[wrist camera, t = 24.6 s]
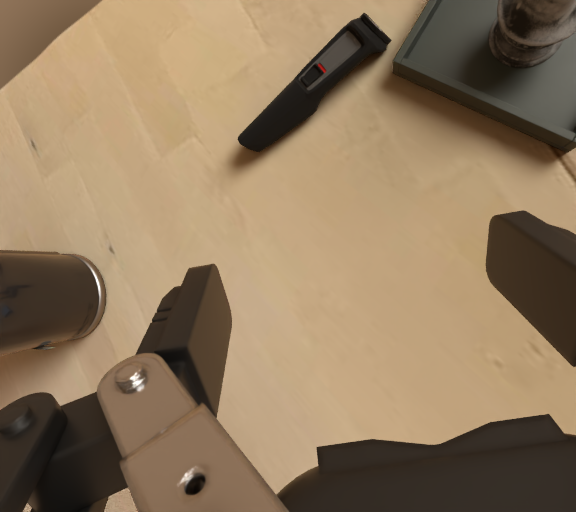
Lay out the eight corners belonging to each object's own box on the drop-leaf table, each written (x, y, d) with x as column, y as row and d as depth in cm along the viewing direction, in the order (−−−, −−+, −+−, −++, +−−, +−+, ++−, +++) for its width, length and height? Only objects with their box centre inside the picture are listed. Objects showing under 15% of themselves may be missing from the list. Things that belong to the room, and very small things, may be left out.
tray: (392, 73, 31) (392, 60, 29) (480, -74, 30) (486, -97, 28) (567, 153, 28) (580, 145, 26) (678, -9, 26) (701, -30, 24)
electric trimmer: (239, 136, 35) (225, 125, 32) (367, 17, 32) (365, -8, 29) (262, 165, 35) (249, 156, 32) (394, 46, 31) (395, 24, 28)
